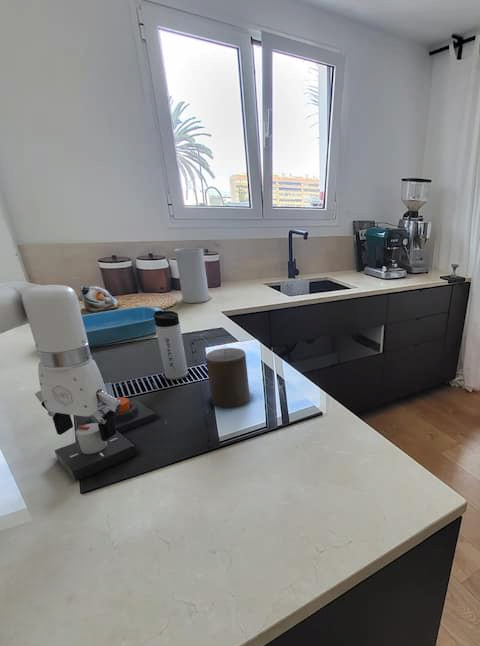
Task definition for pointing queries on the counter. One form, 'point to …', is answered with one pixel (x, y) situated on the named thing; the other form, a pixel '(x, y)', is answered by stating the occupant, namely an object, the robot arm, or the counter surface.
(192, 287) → the cylinder vase
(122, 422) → the block
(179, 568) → the counter surface
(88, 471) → the panel
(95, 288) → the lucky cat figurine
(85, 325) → the casserole dish
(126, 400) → the button
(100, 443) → the timer dial
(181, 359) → the travel mug
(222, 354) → the pillar candle
